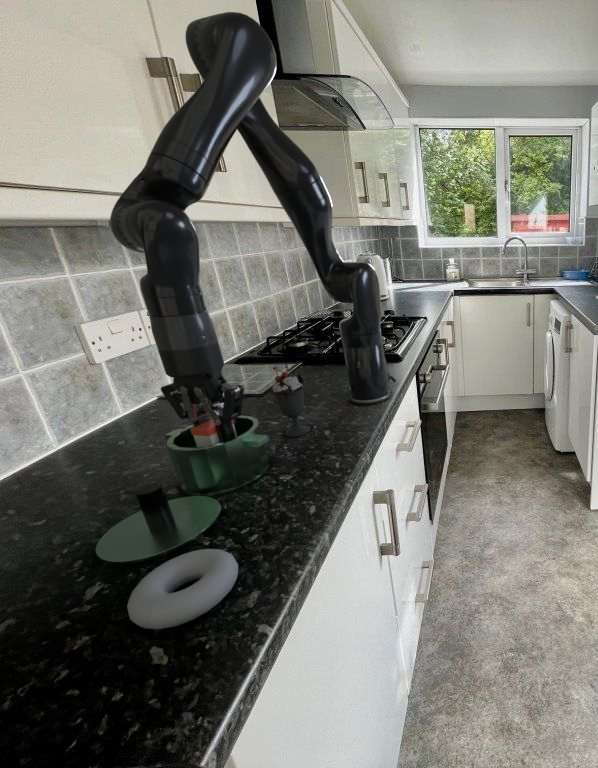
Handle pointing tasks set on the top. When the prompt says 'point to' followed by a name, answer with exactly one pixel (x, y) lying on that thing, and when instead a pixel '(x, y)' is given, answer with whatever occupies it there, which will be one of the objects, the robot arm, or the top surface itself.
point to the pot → (219, 459)
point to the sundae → (290, 400)
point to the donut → (167, 609)
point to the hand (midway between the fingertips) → (217, 441)
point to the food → (207, 433)
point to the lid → (157, 526)
